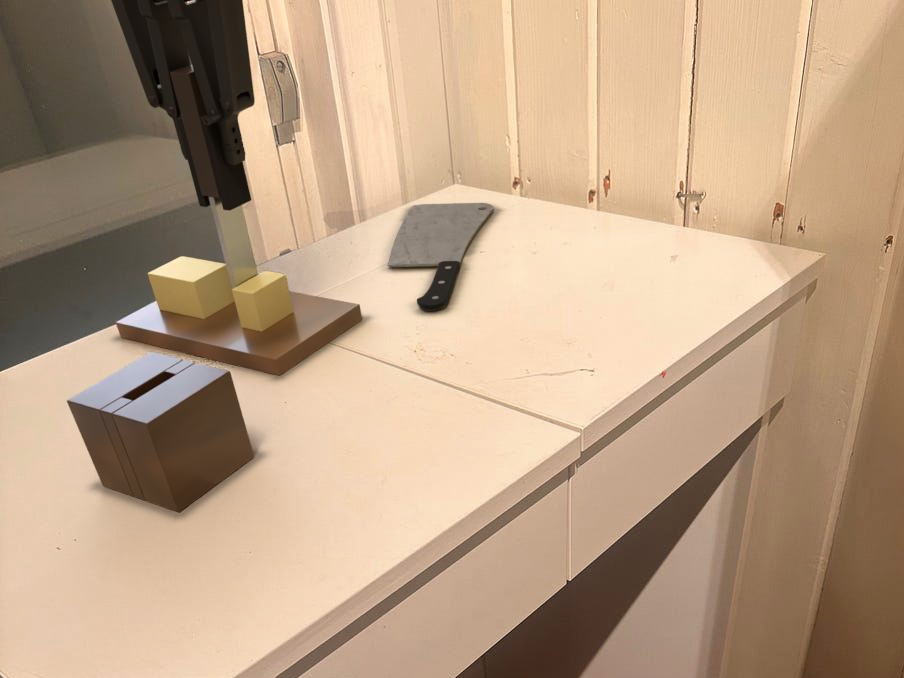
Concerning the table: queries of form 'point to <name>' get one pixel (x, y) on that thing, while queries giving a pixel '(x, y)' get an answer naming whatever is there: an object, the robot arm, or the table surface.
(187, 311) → the butter block
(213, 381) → the knife block
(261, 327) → the block
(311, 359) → the table surface
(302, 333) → the board
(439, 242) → the cleaver
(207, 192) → the knife
